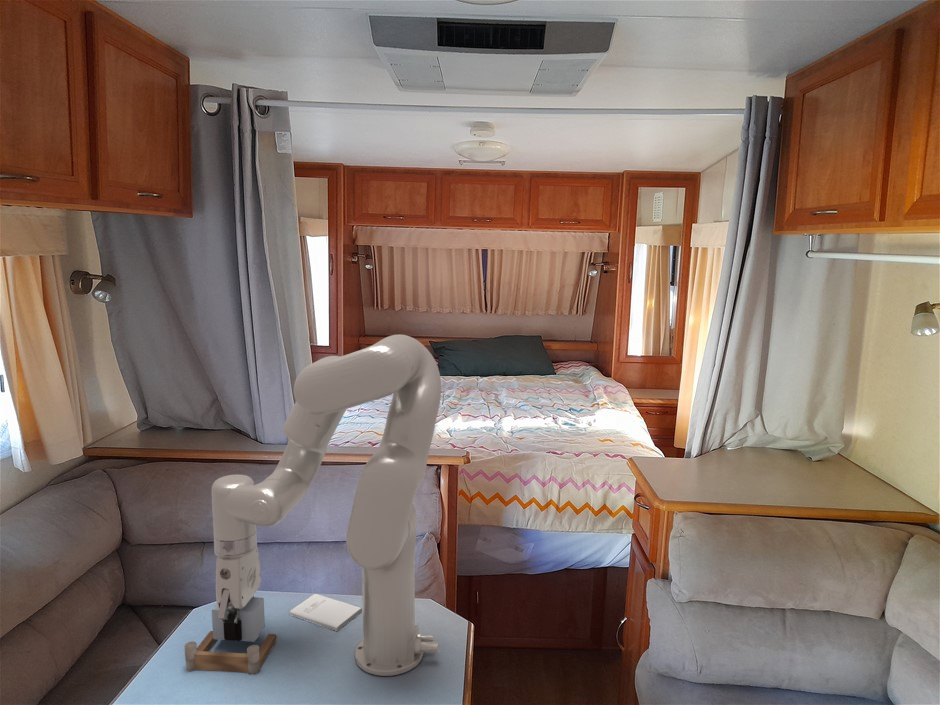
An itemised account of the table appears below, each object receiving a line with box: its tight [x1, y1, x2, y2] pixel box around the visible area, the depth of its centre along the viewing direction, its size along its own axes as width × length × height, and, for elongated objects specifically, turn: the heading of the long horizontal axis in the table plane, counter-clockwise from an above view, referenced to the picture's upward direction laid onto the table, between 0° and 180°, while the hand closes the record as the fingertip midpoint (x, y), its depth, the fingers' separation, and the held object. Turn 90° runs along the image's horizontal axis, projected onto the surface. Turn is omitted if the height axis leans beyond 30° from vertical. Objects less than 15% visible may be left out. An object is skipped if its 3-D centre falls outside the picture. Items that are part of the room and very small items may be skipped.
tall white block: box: [211, 596, 266, 642], centre depth 126 cm, size 8×5×6 cm, turn 86°
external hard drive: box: [289, 593, 363, 632], centre depth 137 cm, size 2×8×12 cm
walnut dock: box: [183, 630, 277, 675], centre depth 122 cm, size 14×10×4 cm
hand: (239, 630), depth 126 cm, fingers closed on tall white block, 5 cm apart
